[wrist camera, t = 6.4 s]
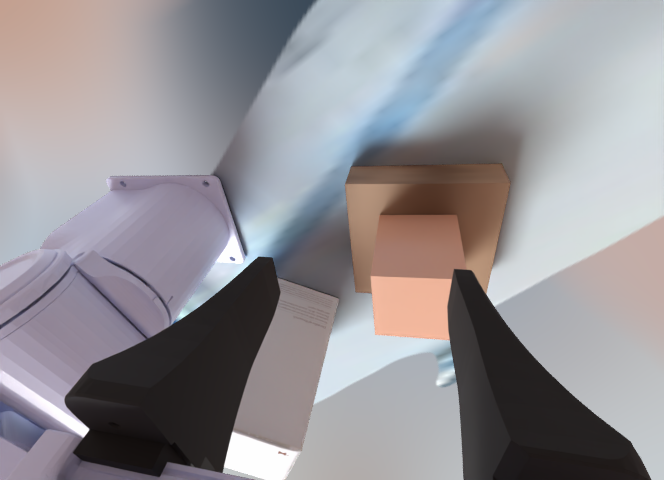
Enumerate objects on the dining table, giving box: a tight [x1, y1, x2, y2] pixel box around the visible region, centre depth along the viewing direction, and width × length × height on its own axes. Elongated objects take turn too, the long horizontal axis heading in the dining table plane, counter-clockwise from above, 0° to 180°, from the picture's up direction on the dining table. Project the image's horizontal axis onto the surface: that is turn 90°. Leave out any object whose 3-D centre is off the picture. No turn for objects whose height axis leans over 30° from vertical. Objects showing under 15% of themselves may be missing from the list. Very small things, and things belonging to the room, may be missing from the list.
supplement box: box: [224, 278, 339, 480], centre depth 27 cm, size 7×7×13 cm
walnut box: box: [345, 163, 511, 293], centre depth 23 cm, size 9×9×3 cm
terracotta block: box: [371, 215, 467, 340], centre depth 20 cm, size 4×4×6 cm
